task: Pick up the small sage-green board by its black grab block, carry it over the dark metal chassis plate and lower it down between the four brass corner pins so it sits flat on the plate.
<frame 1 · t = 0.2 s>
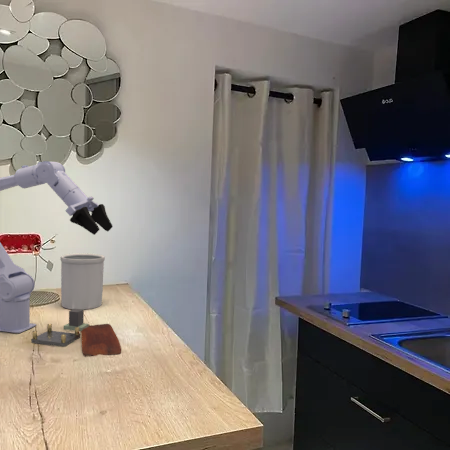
hand: (103, 230, 130), 31 cm above the table, tool tilted 45°, fingers open, 7 cm apart
utensil holder: (82, 305, 167), on the table
board: (76, 328, 141), on the table
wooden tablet: (99, 341, 133), on the table
chassis: (56, 340, 131), on the table
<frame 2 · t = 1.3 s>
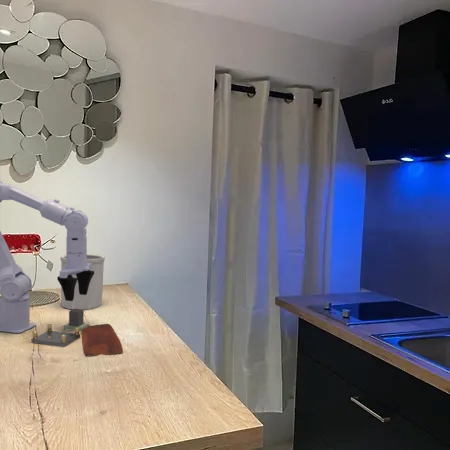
hand: (76, 297, 140), 9 cm above the table, tool pointing down, fingers open, 7 cm apart
nothing on the table moved.
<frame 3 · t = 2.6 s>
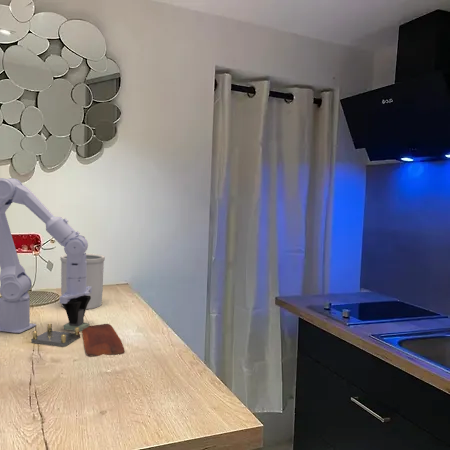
hand: (76, 321, 141), 2 cm above the table, tool pointing down, fingers closed on board, 3 cm apart
board: (76, 328, 141), on the table, touching gripper
everything else where it was.
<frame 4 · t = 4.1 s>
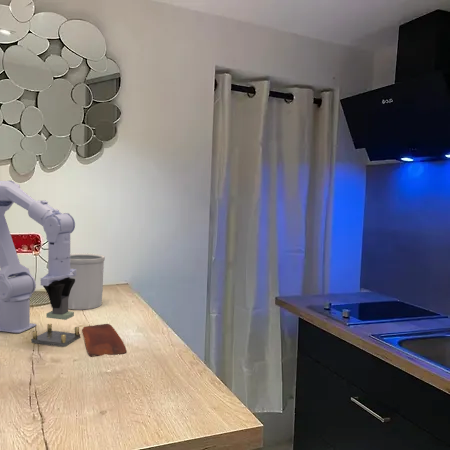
hand: (59, 306, 131), 9 cm above the table, tool pointing down, fingers closed on board, 3 cm apart
board: (60, 316, 131), point 6 cm above the table, touching gripper
everything else where it was.
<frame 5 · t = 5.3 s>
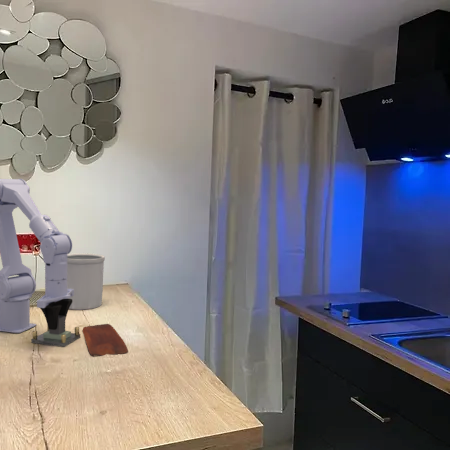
hand: (56, 327, 130), 4 cm above the table, tool pointing down, fingers closed on board, 3 cm apart
board: (57, 336, 130), point 1 cm above the table, touching chassis, gripper
everything else where it was.
when the fingers open (4 cm above the table, at t = 5.6 s): board stays where it is, resting on chassis.
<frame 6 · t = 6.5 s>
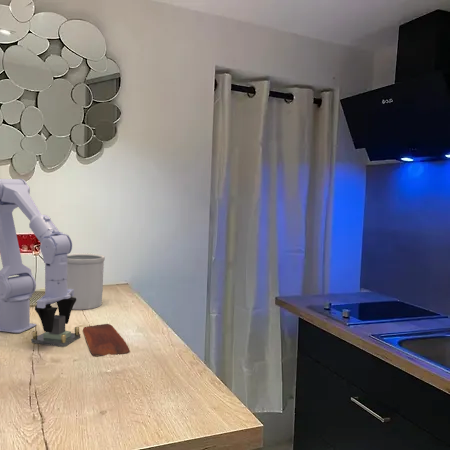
hand: (56, 327, 130), 4 cm above the table, tool pointing down, fingers open, 7 cm apart
board: (57, 336, 130), point 1 cm above the table, touching chassis
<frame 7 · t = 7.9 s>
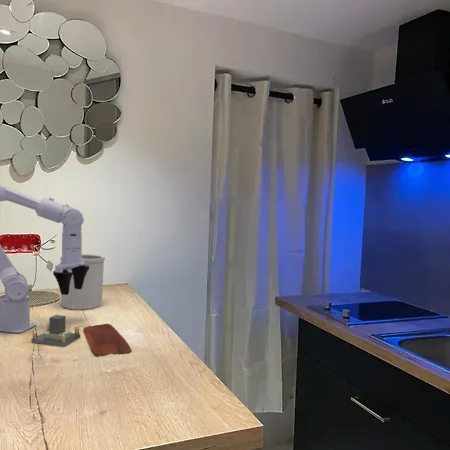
hand: (71, 291, 145), 10 cm above the table, tool pointing down, fingers open, 7 cm apart
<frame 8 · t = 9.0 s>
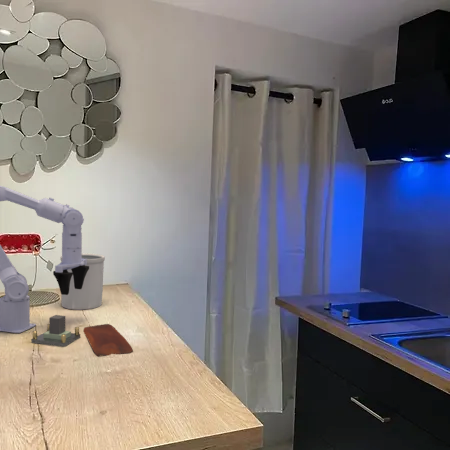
hand: (71, 291, 145), 10 cm above the table, tool pointing down, fingers open, 7 cm apart
at the end: board 0.3 cm off-centre on the chassis, point 1.0 cm above the chassis's base; board tilted 0°; the gripper is holding nothing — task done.
